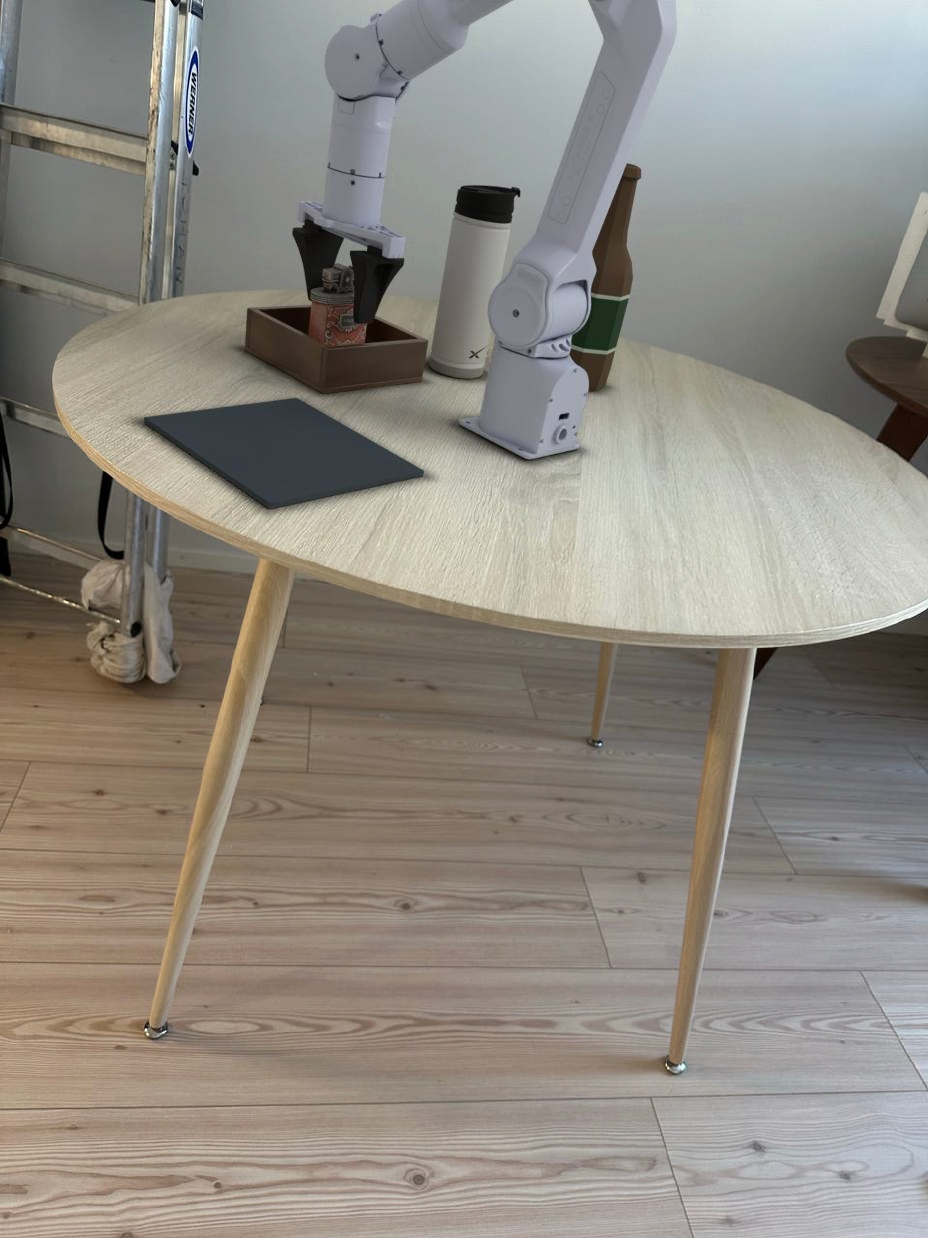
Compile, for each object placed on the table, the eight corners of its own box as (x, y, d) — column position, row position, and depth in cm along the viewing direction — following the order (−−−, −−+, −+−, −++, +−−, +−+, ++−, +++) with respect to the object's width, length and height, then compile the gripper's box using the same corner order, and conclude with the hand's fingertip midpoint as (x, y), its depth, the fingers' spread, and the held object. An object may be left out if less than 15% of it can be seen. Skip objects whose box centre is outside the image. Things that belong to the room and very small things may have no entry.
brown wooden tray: (422, 381, 107) (428, 340, 105) (323, 393, 98) (328, 349, 95) (343, 341, 114) (347, 302, 112) (244, 349, 105) (246, 307, 103)
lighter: (319, 370, 102) (330, 271, 97) (296, 360, 104) (305, 262, 99) (371, 361, 108) (383, 267, 103) (348, 351, 110) (359, 259, 104)
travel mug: (485, 383, 110) (522, 193, 100) (427, 372, 110) (458, 180, 100) (485, 367, 116) (520, 185, 106) (430, 357, 115) (460, 173, 105)
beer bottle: (604, 378, 121) (659, 167, 109) (606, 396, 114) (664, 175, 102) (542, 365, 121) (590, 153, 109) (541, 383, 114) (591, 159, 102)
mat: (423, 475, 85) (424, 470, 84) (269, 509, 74) (269, 503, 73) (296, 402, 94) (296, 397, 94) (143, 422, 83) (143, 416, 83)
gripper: (278, 152, 97) (267, 291, 104) (373, 187, 90) (354, 335, 96) (334, 157, 102) (320, 290, 109) (429, 190, 94) (407, 331, 101)
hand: (339, 311), depth 103 cm, fingers open, 7 cm apart
